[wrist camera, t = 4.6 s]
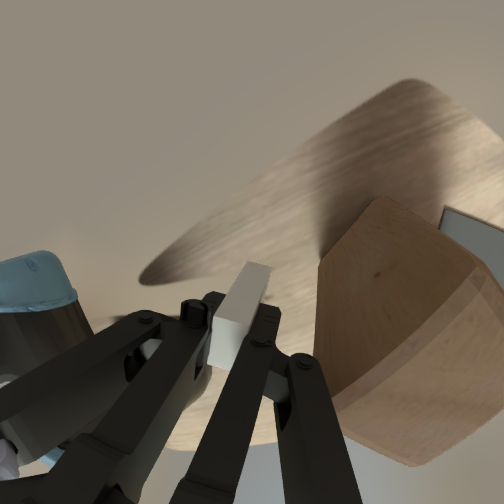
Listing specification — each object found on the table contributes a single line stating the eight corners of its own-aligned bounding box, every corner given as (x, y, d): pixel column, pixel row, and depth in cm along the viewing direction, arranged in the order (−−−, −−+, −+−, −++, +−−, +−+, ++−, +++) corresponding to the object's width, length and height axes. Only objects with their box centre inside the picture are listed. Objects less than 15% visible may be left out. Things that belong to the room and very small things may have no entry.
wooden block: (378, 190, 26) (484, 254, 7) (441, 254, 26) (549, 371, 8) (314, 264, 30) (296, 419, 11) (379, 319, 30) (414, 475, 11)
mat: (408, 310, 29) (409, 312, 29) (444, 208, 25) (445, 209, 25) (503, 330, 27) (504, 331, 27) (537, 248, 23) (538, 248, 23)
